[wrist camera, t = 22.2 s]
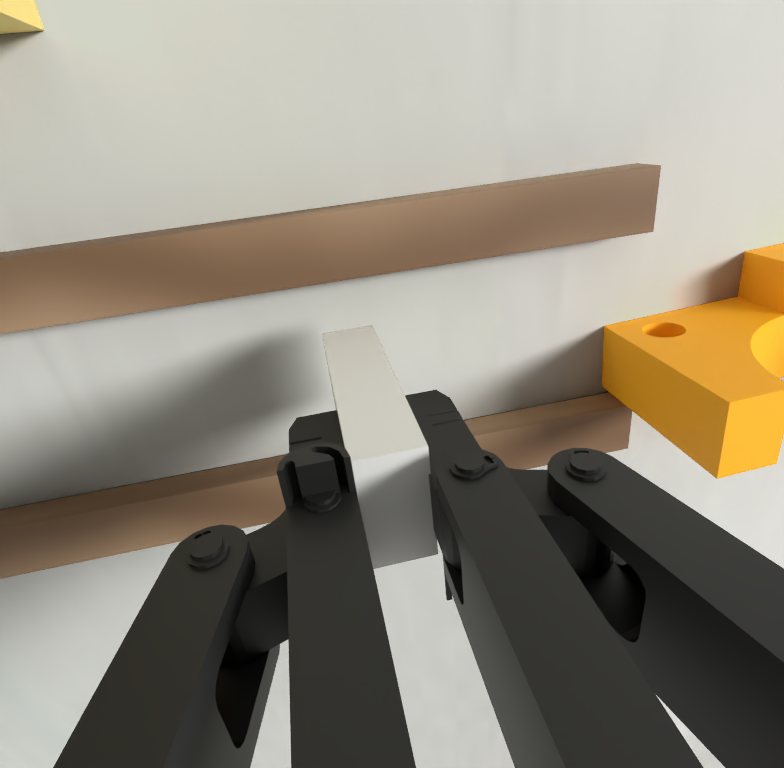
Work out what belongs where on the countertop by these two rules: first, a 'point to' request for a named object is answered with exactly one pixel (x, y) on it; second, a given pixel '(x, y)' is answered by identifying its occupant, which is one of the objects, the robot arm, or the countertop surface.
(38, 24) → the yellow rectangular block
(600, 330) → the countertop surface
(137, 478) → the countertop surface
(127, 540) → the channel
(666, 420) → the pipe clamp
